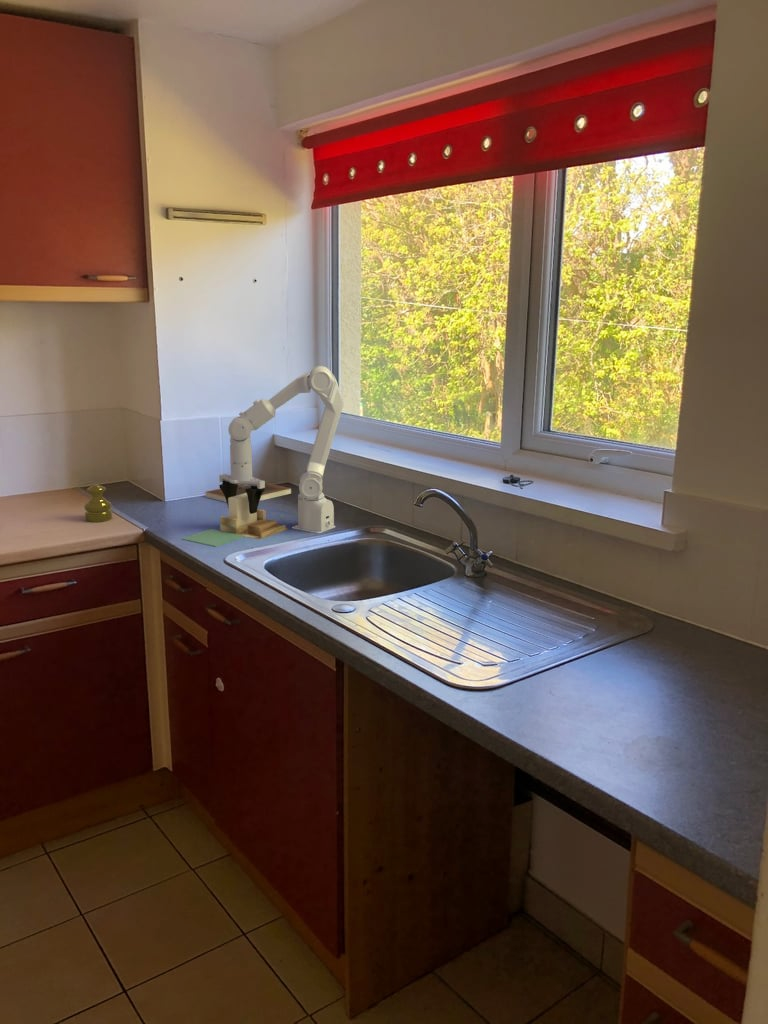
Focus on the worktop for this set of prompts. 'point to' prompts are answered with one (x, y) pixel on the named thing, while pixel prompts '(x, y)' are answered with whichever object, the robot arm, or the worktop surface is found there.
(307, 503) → the robot arm
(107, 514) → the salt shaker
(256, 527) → the offcut upper
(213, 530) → the pad
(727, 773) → the worktop surface
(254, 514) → the block
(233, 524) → the rack
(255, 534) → the offcut lower
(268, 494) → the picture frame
